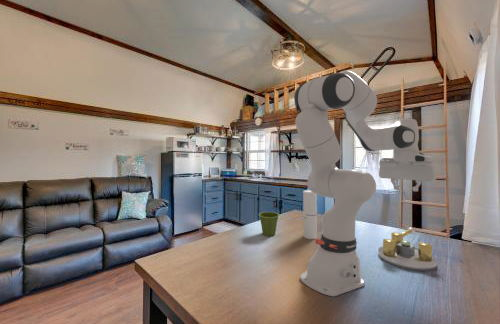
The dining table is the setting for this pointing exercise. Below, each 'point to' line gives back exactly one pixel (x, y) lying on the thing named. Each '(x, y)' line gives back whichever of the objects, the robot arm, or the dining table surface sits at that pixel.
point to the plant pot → (268, 222)
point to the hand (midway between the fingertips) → (405, 190)
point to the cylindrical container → (309, 214)
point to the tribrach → (408, 255)
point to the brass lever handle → (401, 235)
